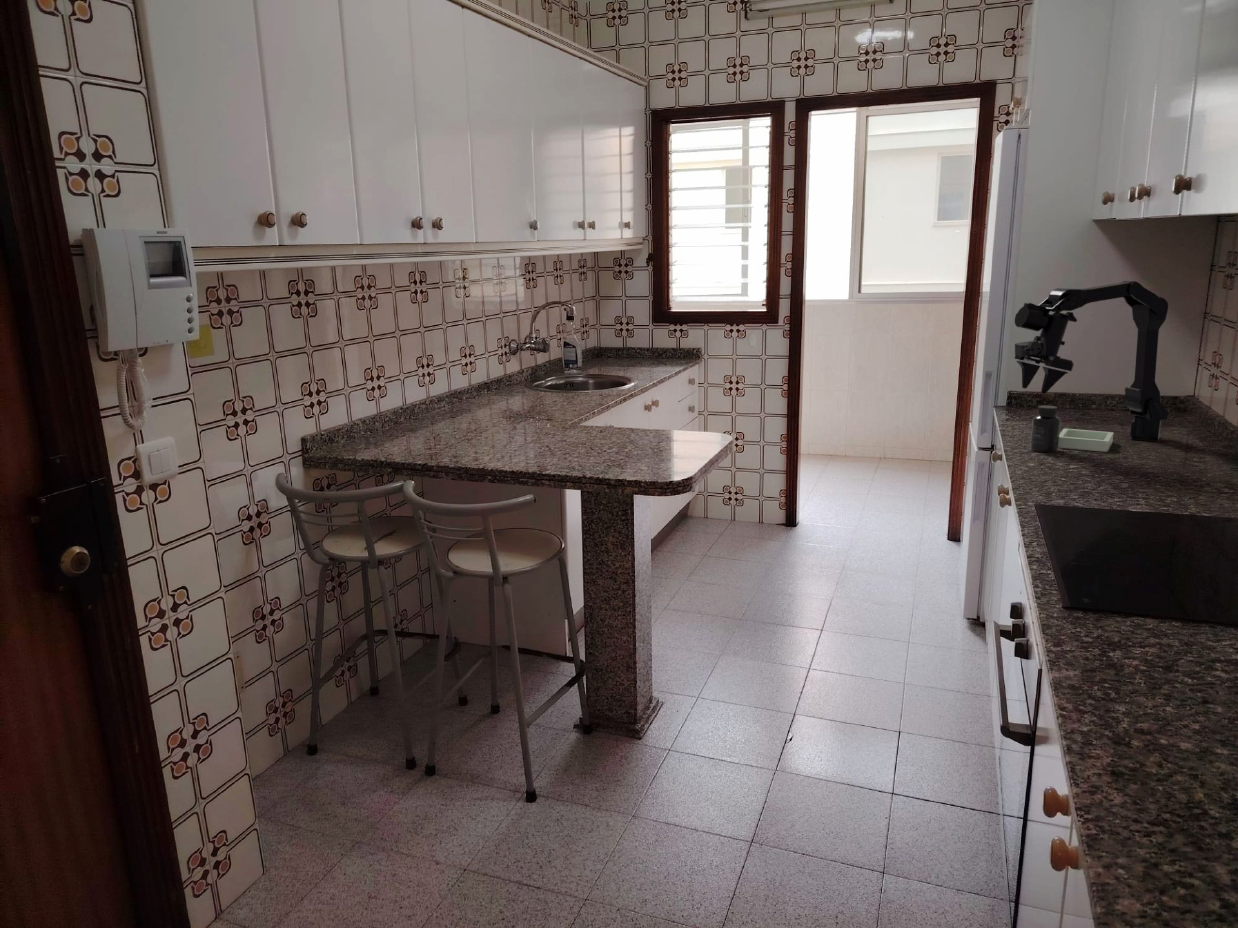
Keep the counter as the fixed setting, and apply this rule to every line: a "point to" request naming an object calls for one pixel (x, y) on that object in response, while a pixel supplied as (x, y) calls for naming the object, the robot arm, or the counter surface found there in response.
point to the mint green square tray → (1085, 440)
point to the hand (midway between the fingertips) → (1033, 390)
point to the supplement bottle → (1045, 430)
